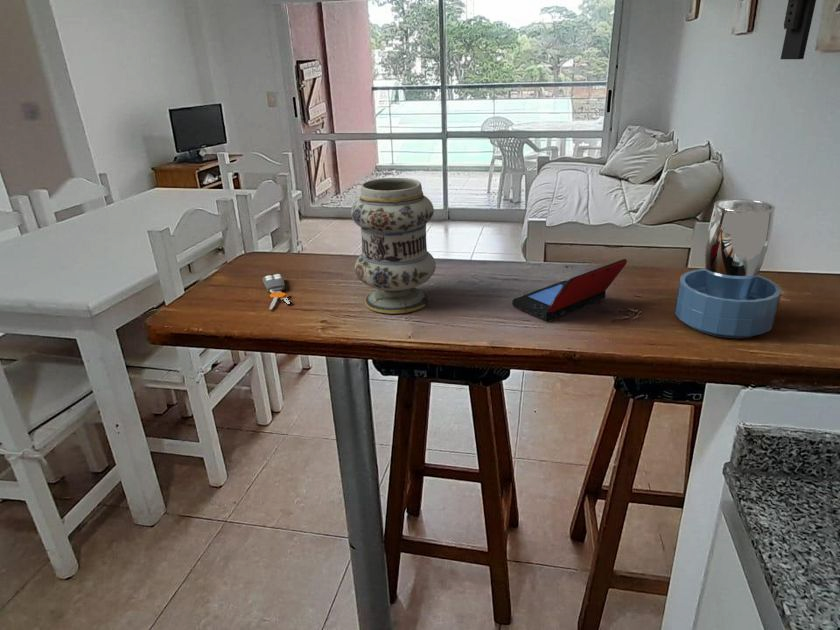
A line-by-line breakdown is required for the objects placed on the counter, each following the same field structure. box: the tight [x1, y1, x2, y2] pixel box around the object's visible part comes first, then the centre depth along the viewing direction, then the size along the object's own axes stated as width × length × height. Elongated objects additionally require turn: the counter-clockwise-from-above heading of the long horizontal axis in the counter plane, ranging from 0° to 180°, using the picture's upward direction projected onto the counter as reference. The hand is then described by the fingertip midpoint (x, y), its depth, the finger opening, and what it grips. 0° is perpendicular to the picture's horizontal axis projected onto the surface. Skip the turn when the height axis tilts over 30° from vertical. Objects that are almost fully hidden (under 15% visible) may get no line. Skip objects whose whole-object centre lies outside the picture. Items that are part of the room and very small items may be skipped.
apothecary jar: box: [350, 177, 437, 315], centre depth 84 cm, size 12×12×18 cm
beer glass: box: [704, 198, 776, 300], centre depth 73 cm, size 7×7×15 cm
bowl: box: [674, 268, 782, 339], centre depth 75 cm, size 12×12×6 cm
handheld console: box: [511, 258, 628, 322], centre depth 81 cm, size 12×11×7 cm
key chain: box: [262, 273, 291, 311], centre depth 92 cm, size 13×4×2 cm, turn 19°
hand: (837, 57), depth 71 cm, fingers open, 13 cm apart
